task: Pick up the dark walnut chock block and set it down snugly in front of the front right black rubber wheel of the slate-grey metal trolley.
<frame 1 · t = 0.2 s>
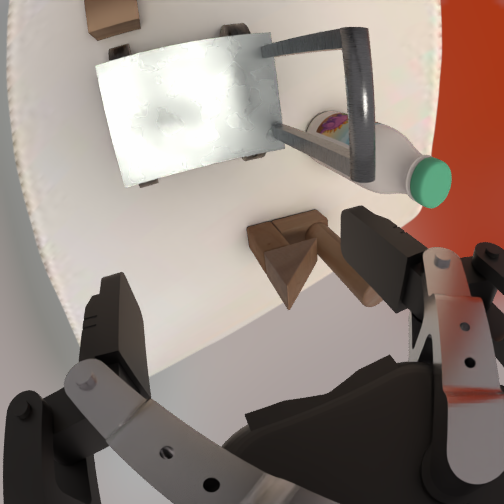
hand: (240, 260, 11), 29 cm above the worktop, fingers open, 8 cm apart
chock: (114, 5, 24), on the worktop
milk bottle: (328, 137, 41), on the worktop
trolley: (185, 100, 33), on the worktop
wooden block: (282, 227, 46), on the worktop
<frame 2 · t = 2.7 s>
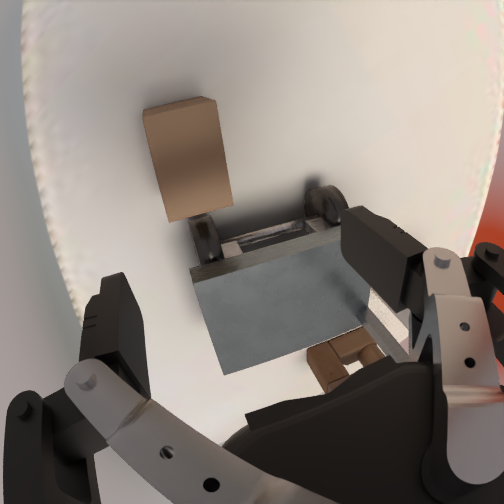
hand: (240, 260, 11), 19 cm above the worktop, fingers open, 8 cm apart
chock: (181, 146, 26), on the worktop
trolley: (265, 259, 35), on the worktop
wooden block: (336, 342, 48), on the worktop
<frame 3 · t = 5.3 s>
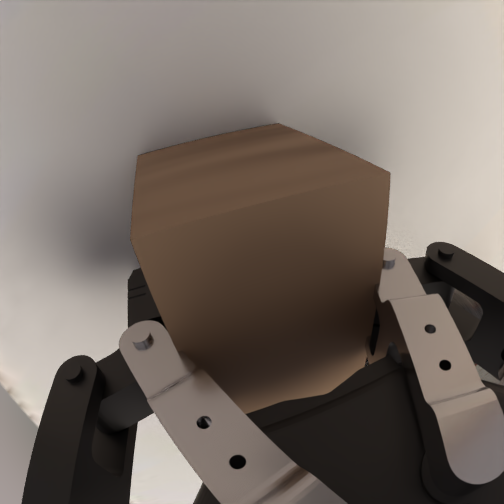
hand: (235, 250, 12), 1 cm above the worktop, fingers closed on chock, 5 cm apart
chock: (228, 237, 12), on the worktop, touching gripper
trolley: (342, 381, 21), on the worktop
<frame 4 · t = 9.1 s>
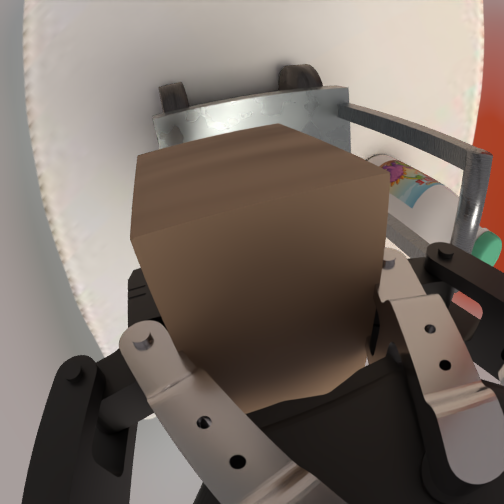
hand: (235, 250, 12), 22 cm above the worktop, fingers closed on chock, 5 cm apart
chock: (228, 237, 12), point 21 cm above the worktop, touching gripper
milk bottle: (375, 179, 40), on the worktop
trolley: (239, 145, 32), on the worktop
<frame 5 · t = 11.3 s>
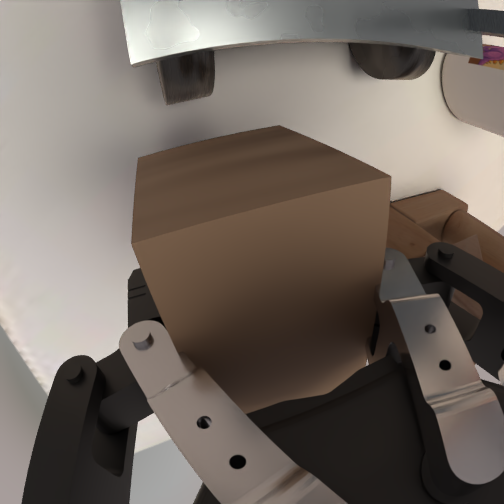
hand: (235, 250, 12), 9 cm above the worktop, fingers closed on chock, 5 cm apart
chock: (229, 239, 12), point 8 cm above the worktop, touching gripper
milk bottle: (462, 81, 20), on the worktop
wooden block: (398, 216, 26), on the worktop
when the fingers open (2 cm above the worktop, at t = 13.2 s): chock stays where it is, on the worktop.
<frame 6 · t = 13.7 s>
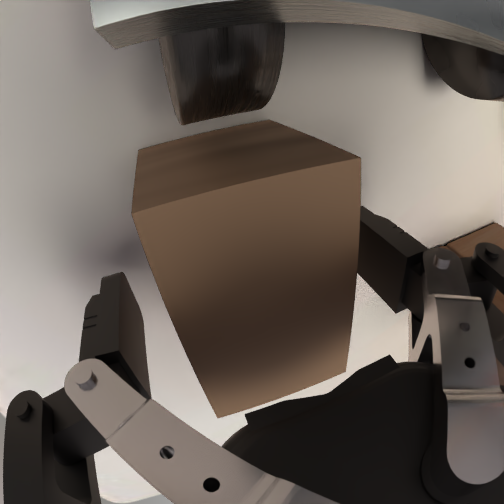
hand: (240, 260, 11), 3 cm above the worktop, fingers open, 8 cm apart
chock: (223, 225, 13), on the worktop
wooden block: (452, 255, 20), on the worktop
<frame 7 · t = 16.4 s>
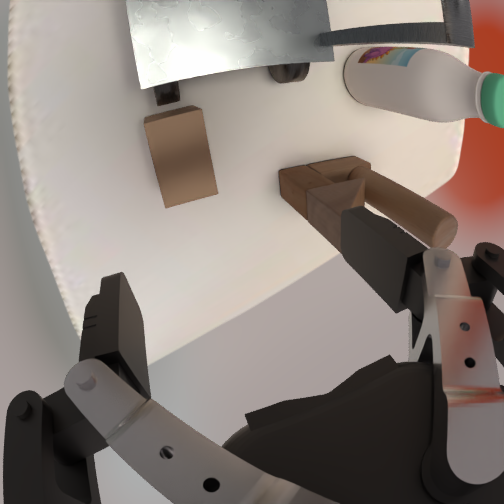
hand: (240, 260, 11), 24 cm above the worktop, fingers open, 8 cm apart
chock: (176, 147, 31), on the worktop
milk bottle: (366, 76, 33), on the worktop
trolley: (212, 19, 25), on the worktop
wooden block: (318, 174, 38), on the worktop
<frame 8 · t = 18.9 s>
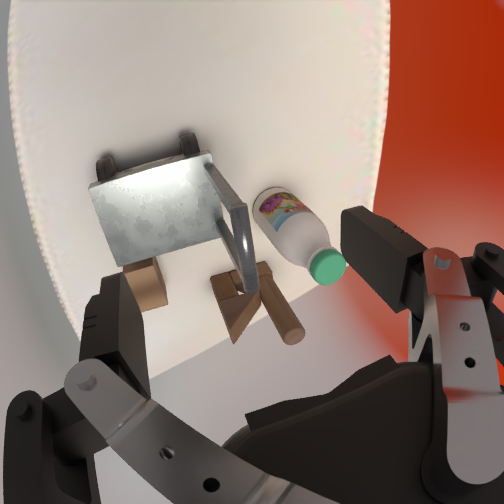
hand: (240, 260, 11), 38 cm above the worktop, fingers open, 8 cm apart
chock: (144, 269, 53), on the worktop
milk bottle: (272, 207, 55), on the worktop
trolley: (157, 191, 47), on the worktop
wooden block: (239, 275, 60), on the worktop
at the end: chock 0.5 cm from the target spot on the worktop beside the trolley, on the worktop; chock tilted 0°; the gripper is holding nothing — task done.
